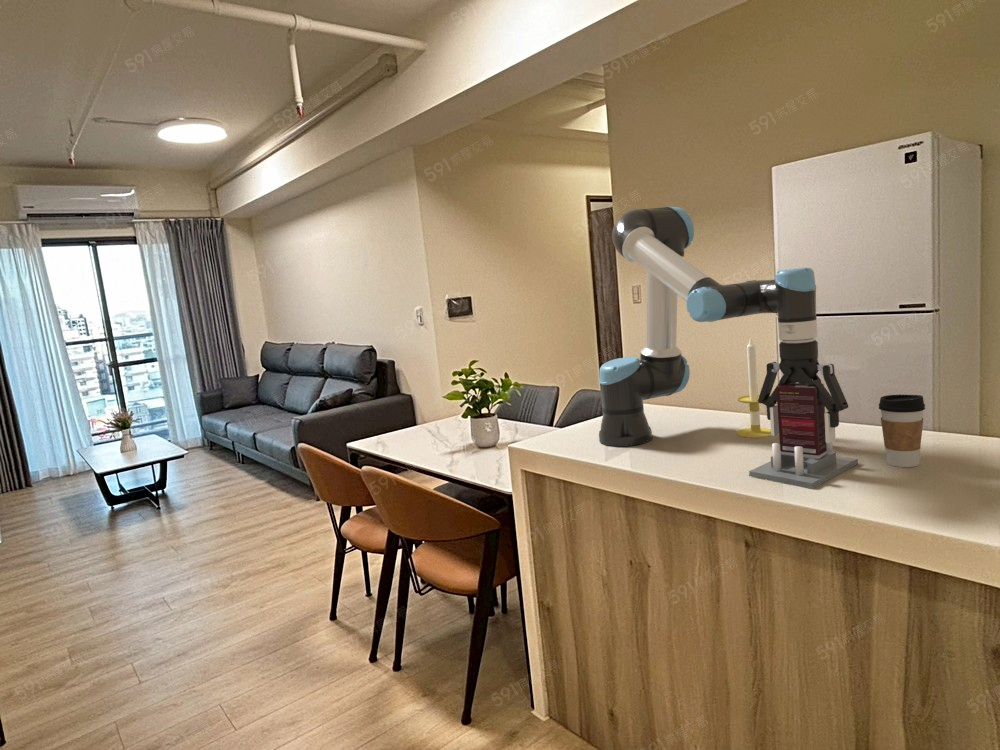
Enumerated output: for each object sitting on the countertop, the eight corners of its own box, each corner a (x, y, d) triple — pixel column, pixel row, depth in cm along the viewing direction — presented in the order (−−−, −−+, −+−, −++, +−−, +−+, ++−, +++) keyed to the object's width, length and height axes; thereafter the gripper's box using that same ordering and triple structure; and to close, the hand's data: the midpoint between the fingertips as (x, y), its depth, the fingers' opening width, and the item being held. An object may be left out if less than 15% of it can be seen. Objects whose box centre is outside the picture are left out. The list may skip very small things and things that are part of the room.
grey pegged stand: (749, 476, 136) (747, 445, 135) (796, 454, 148) (795, 425, 147) (812, 488, 125) (810, 455, 124) (857, 463, 136) (857, 432, 135)
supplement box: (827, 454, 134) (825, 383, 132) (819, 460, 131) (816, 387, 129) (787, 449, 140) (784, 381, 138) (778, 454, 137) (775, 385, 135)
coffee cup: (911, 471, 128) (910, 401, 126) (871, 463, 135) (869, 397, 133) (934, 462, 132) (933, 394, 129) (894, 455, 139) (892, 390, 137)
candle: (739, 438, 165) (733, 340, 162) (734, 429, 175) (728, 336, 171) (779, 436, 163) (774, 336, 159) (771, 427, 173) (766, 333, 169)
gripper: (738, 342, 140) (743, 434, 143) (847, 343, 120) (850, 449, 123) (756, 337, 144) (761, 427, 147) (865, 337, 125) (867, 441, 128)
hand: (802, 437), depth 135 cm, fingers open, 11 cm apart
